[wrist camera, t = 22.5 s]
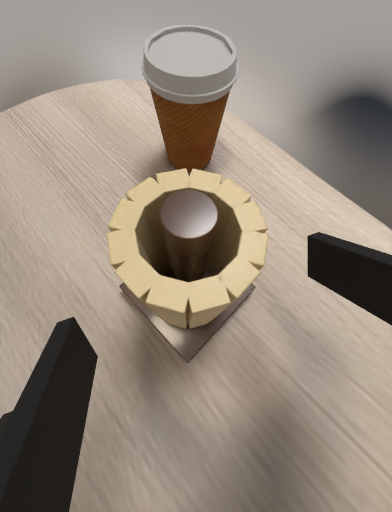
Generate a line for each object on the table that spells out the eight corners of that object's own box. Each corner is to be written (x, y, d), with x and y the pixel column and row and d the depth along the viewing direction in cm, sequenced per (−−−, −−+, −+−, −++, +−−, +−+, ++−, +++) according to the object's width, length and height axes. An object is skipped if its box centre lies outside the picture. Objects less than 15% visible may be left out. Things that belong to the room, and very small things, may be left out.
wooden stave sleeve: (132, 286, 22) (74, 228, 10) (188, 237, 24) (189, 147, 13) (187, 346, 20) (188, 353, 9) (242, 287, 22) (298, 231, 11)
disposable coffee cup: (214, 187, 29) (231, 89, 17) (147, 172, 29) (122, 68, 18) (227, 139, 32) (249, 31, 21) (167, 126, 33) (157, 15, 22)
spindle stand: (122, 289, 23) (23, 209, 9) (188, 232, 26) (190, 106, 12) (187, 361, 21) (187, 403, 7) (251, 290, 23) (346, 215, 10)
